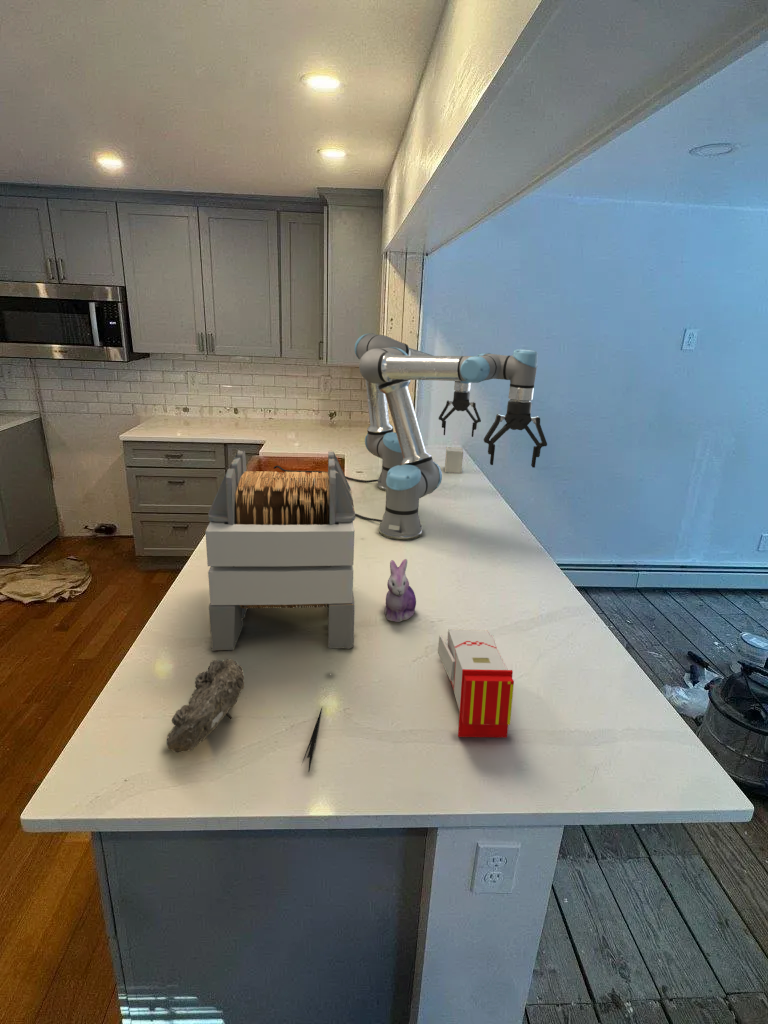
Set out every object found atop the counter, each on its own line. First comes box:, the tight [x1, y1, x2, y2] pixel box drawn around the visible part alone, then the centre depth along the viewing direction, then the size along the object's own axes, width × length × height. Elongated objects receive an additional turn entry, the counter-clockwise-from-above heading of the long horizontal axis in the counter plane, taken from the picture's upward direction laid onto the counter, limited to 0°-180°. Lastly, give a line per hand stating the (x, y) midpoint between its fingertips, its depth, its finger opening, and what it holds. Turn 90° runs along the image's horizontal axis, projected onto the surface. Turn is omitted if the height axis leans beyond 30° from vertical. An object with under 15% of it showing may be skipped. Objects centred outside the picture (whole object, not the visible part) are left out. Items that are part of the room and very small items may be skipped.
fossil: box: [166, 658, 245, 754], centre depth 106 cm, size 22×10×15 cm
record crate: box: [204, 449, 356, 652], centre depth 138 cm, size 34×33×41 cm
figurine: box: [384, 558, 417, 623], centre depth 145 cm, size 9×10×15 cm
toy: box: [437, 628, 515, 738], centre depth 117 cm, size 12×13×30 cm
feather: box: [301, 673, 332, 771], centre depth 108 cm, size 2×28×2 cm
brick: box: [444, 446, 464, 474], centre depth 281 cm, size 9×8×11 cm
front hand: (512, 465), depth 187 cm, fingers open, 13 cm apart
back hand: (458, 435), depth 275 cm, fingers open, 13 cm apart
